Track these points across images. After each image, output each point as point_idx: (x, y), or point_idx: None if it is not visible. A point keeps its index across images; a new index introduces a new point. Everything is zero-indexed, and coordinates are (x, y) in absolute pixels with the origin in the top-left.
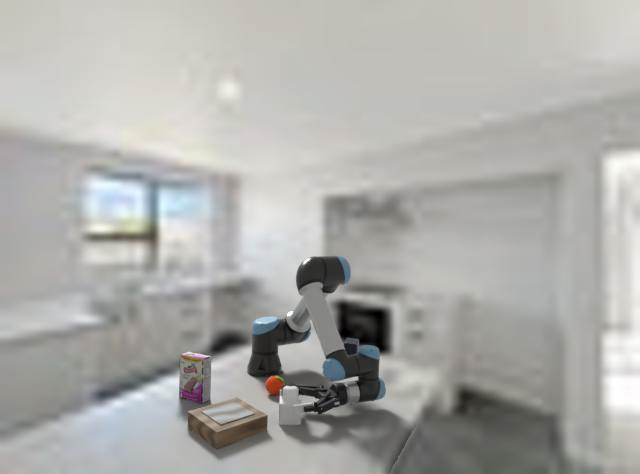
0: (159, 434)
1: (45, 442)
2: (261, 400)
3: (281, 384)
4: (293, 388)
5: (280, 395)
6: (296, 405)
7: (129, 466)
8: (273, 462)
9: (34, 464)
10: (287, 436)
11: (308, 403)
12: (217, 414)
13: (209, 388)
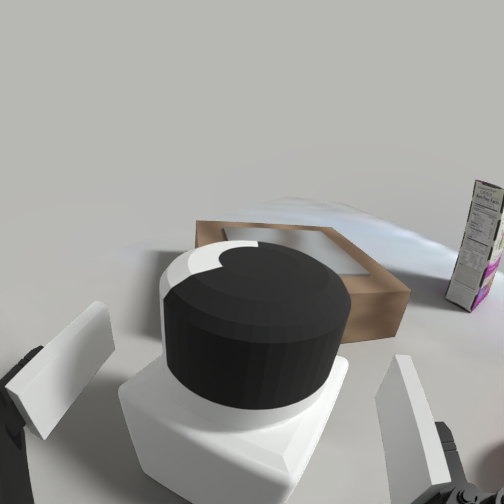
0: None
1: (328, 207)
2: (486, 415)
3: None
4: (181, 257)
5: (382, 383)
6: (88, 311)
7: (228, 215)
8: (53, 285)
9: (283, 200)
10: (106, 371)
11: (33, 367)
12: (286, 236)
13: (477, 280)
